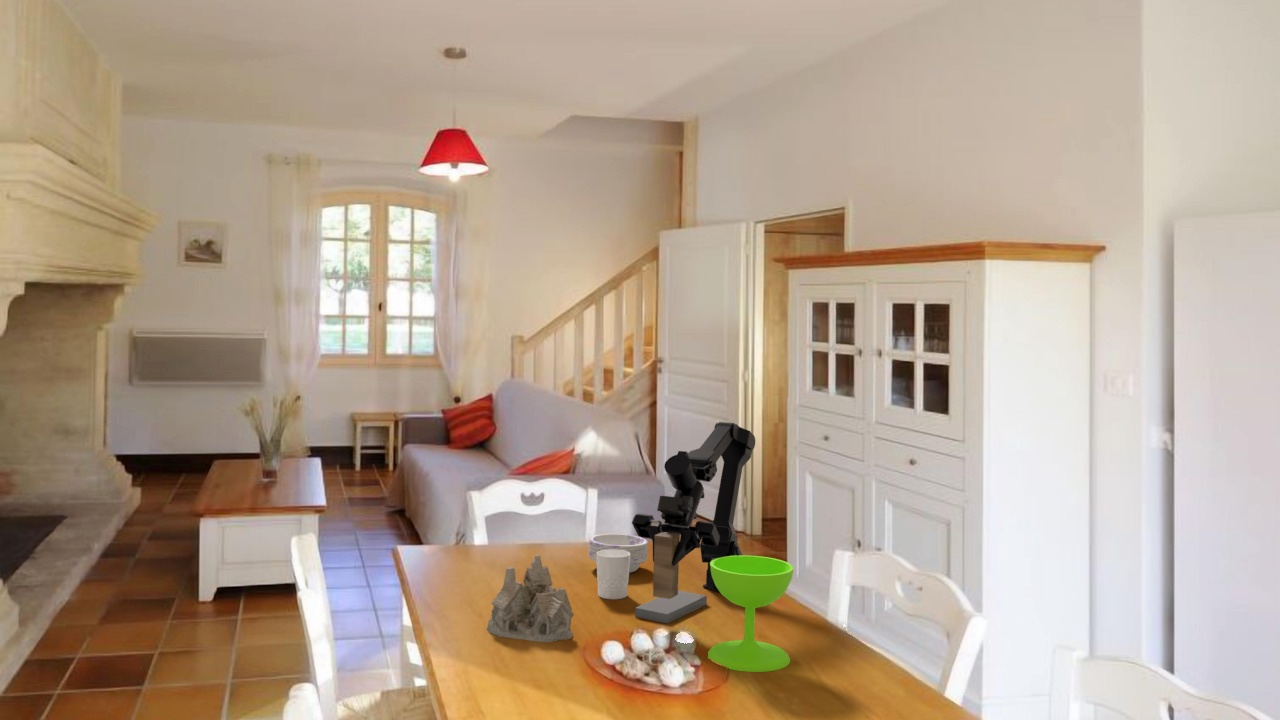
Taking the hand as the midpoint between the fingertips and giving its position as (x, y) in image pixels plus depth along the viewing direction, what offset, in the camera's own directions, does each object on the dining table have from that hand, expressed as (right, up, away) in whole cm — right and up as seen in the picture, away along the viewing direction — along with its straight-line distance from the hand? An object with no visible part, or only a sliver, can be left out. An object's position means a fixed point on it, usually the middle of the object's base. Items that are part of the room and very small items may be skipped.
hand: (663, 563), depth 215 cm
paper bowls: (-11, -11, +47) cm, 50 cm away
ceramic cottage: (-27, -13, -6) cm, 31 cm away
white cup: (-11, -12, +23) cm, 28 cm away
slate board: (+2, -13, +12) cm, 18 cm away
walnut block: (0, -7, +2) cm, 7 cm away
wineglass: (+16, -15, -18) cm, 28 cm away
